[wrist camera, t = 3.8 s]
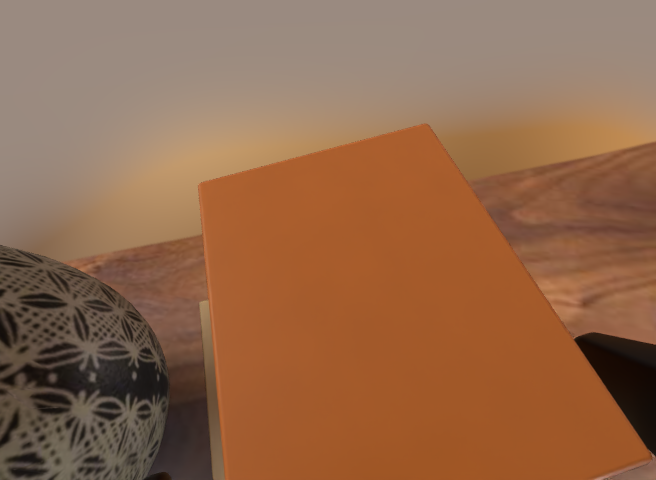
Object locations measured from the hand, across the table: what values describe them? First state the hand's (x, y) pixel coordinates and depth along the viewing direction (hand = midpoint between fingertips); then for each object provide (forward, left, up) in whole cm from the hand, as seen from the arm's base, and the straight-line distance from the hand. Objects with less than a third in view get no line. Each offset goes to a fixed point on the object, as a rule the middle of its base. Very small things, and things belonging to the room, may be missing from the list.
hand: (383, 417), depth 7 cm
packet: (+1, +1, -6) cm, 6 cm away
